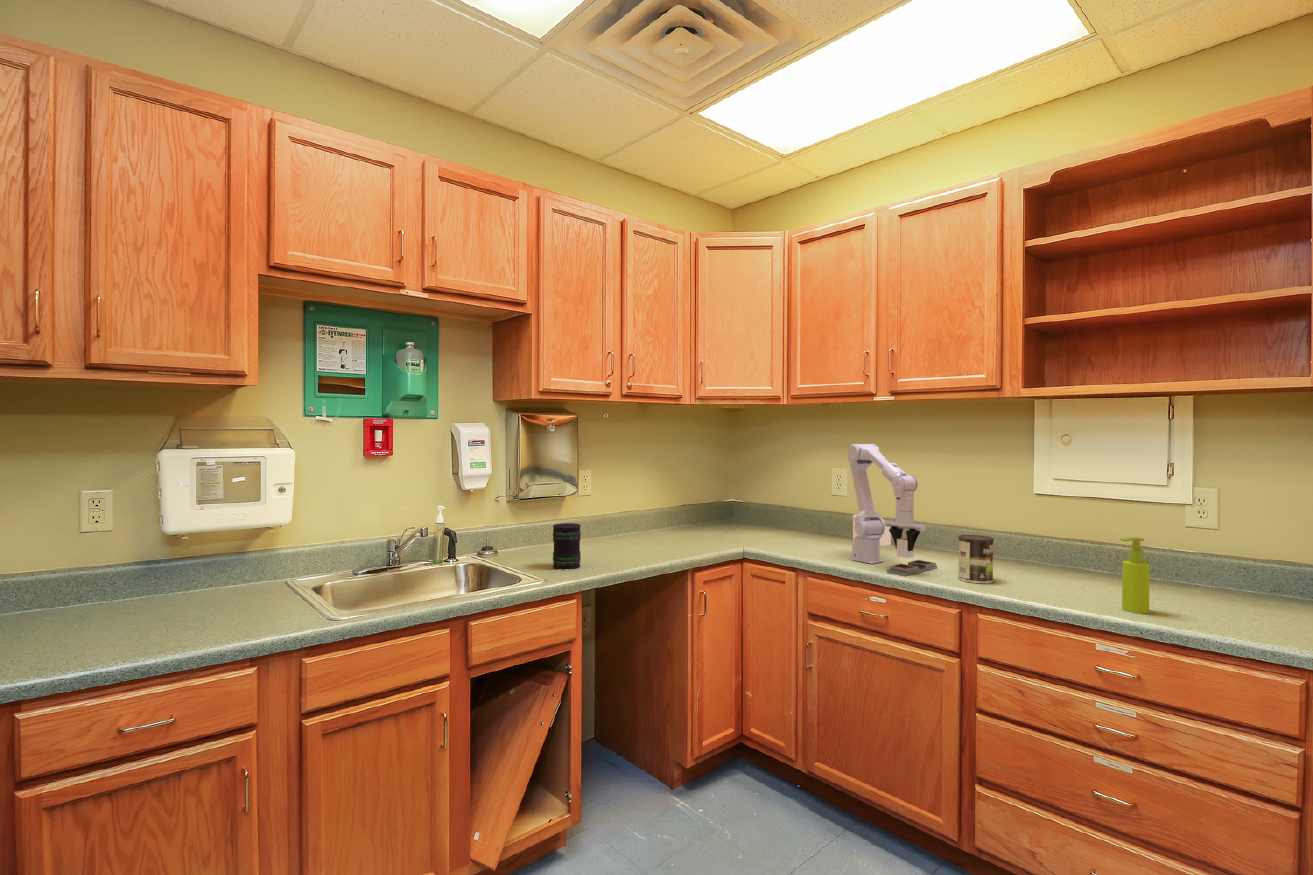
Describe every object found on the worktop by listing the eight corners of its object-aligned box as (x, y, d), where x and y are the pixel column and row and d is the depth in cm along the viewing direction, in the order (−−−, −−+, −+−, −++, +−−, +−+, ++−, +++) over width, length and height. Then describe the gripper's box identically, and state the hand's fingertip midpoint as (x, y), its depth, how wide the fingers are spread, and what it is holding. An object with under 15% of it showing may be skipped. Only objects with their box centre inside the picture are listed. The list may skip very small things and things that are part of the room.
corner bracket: (852, 542, 274) (853, 514, 274) (874, 540, 277) (875, 513, 277) (868, 546, 264) (868, 518, 263) (890, 545, 267) (891, 517, 267)
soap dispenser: (1113, 607, 174) (1113, 535, 174) (1136, 607, 174) (1137, 535, 174) (1130, 613, 168) (1131, 539, 168) (1154, 613, 168) (1155, 539, 168)
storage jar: (547, 568, 222) (547, 526, 222) (563, 562, 230) (563, 522, 230) (570, 571, 217) (570, 528, 217) (586, 565, 226) (586, 524, 226)
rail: (886, 572, 216) (886, 566, 216) (918, 564, 228) (918, 559, 228) (905, 576, 211) (905, 570, 211) (937, 568, 223) (937, 562, 222)
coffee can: (998, 580, 205) (999, 537, 205) (984, 585, 198) (985, 541, 198) (966, 574, 213) (966, 533, 213) (952, 579, 206) (952, 536, 206)
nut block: (896, 555, 217) (897, 537, 217) (903, 554, 219) (903, 536, 219) (907, 557, 214) (907, 539, 214) (913, 556, 216) (914, 538, 216)
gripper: (930, 511, 213) (930, 551, 213) (892, 507, 224) (892, 545, 224) (919, 513, 208) (919, 554, 209) (880, 508, 220) (880, 547, 220)
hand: (904, 549), depth 216 cm, fingers closed on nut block, 4 cm apart
